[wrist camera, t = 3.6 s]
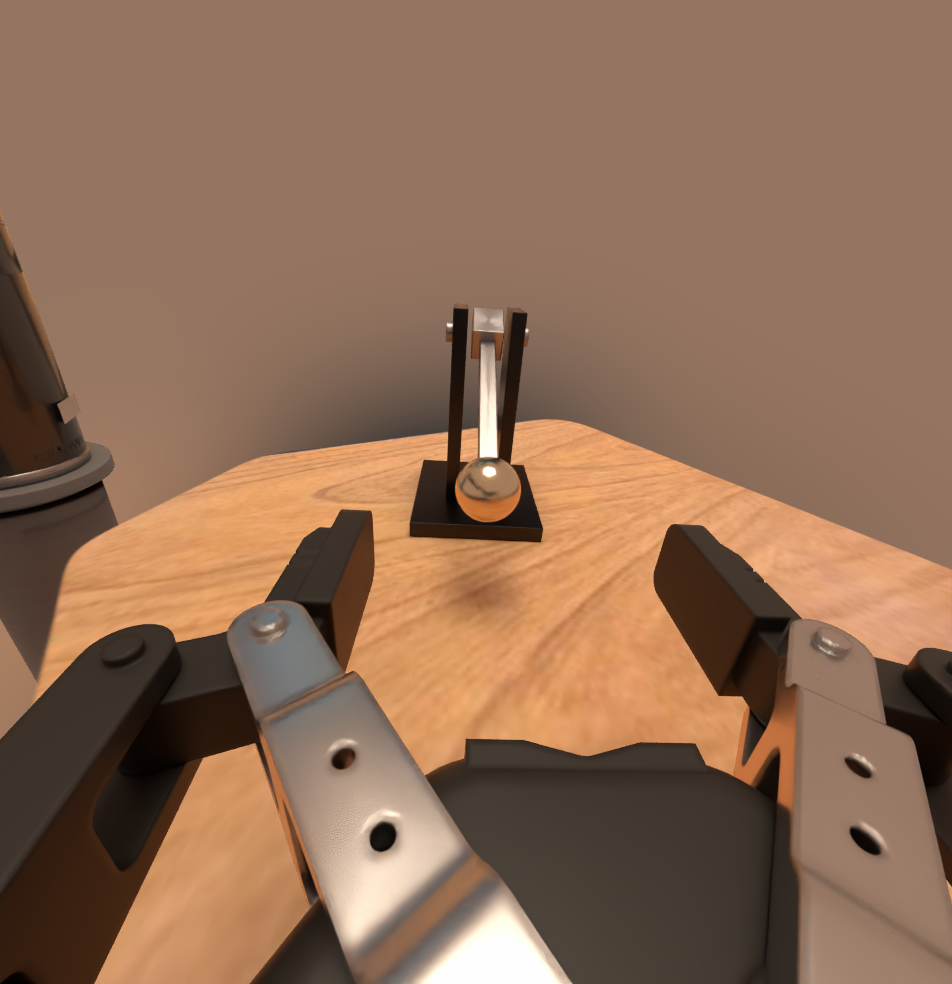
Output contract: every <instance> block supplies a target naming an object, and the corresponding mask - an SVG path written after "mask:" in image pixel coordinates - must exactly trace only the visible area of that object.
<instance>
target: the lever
mask: <svg viewBox="0 0 952 984" xmlns="http://www.w3.org/2000/svg"><path fill="white" fill-rule="evenodd" d="M471 338H472V339H471V358H472V359H479V399H478V458H477V459H474V460H472V461H471V462H469V463H468V464H467V465H465V466H464V468H463V469H462V470H461V472H460V473H459V475H458V477H457V480H456V485H455V494H456V499H457V502H458V504H459V506H460V507H461V509H462V510H463V511H464V512H465V513H466V514H467V515H468V516H469V517H471V518H473V519H475V520H477V521H481V522H495V521H499V520H501V519H503V518H505V517H507V516H508V515H509V514H510V513H511V512H512V511H513V510H514V509H515V507H516V506H517V504H518V502H519V499H520V494H521V484H520V480H519V477H518V475H517V473H516V471H515V470H514V469H513V467H512V466H511V465H509V464H508V463H507V462H506V461H504V460H502V459H499V458H498V430H497V389H496V360H500V359H501V353H502V345H503V338H504V315H503V310H496V309H481V308H474V309H473V323H472V337H471Z"/></svg>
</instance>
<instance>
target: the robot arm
mask: <svg viewBox="0 0 952 984" xmlns="http://www.w3.org/2000/svg"><path fill="white" fill-rule="evenodd" d="M3 222H5V221H4V219H3V216H2V213H1V210H0V490H4V489H11V488H17V487H22V486H26V485H31V484H35V483H39V482H43V481H46V480H50V479H53V478H56V477H59V476H62V475H65V474H67V473H70V472H72V471H74V470H76V469H78V468H80V467H82V466H83V465H85V464H86V463H87V462H88V461H89V460H90V459H91V457H92V454H91V452H90V449H89V446H88V443H87V442H85V440H84V437H83V435H82V432H81V429H80V426H79V423H78V420H77V418H76V415H78V414H79V413H80V412H81V410H80V407H79V404H78V401H77V399H76V396H75V394H72V395H71V396H69V395H68V392H67V389H66V387H65V384H64V381H63V379H62V376H61V373H60V370H59V368H58V365H57V362H56V359H55V357H54V354H53V351H52V349H51V346H50V343H49V340H48V338H47V335H46V332H45V329H44V327H43V324H42V321H41V318H40V316H39V313H38V310H37V308H36V305H35V302H34V299H33V297H32V294H31V292H30V288H29V286H28V283H27V280H26V278H25V275H24V273H23V270H22V267H21V264H20V262H19V259H18V256H17V253H16V251H15V248H14V245H13V243H12V240H11V237H10V235H9V232H8V229H7V226H6V225H5V224H1V223H3ZM374 565H375V559H374V538H373V519H372V513H371V511H364V510H343V509H342V510H341V511H340V512H339V514H338V516H337V518H336V520H335V522H334V524H333V525H332V527H331V528H323V527H319V528H317V529H316V530H315V531H313V532H312V533H310V534H309V535H308V536H306V537H305V538H304V539H303V540H302V542H301V544H300V545H299V547H298V549H297V550H296V554H294V555H293V557H292V558H291V560H290V562H289V565H287V566H286V568H285V570H284V571H283V573H282V574H281V576H280V578H279V579H278V581H277V583H276V584H275V586H274V587H273V589H272V591H271V592H270V594H269V596H268V597H267V599H266V600H265V602H264V603H262V604H259V605H256V606H254V607H252V608H250V609H248V610H246V611H245V612H243V613H242V614H240V615H239V616H238V617H237V618H236V619H235V620H234V621H233V622H232V624H231V625H230V627H229V629H228V631H226V632H223V633H220V634H216V635H212V636H207V637H202V638H197V639H192V640H187V641H182V642H177V643H176V641H175V638H174V635H173V633H172V632H171V630H169V629H168V628H167V627H164V626H161V625H156V624H144V625H137V626H132V627H128V628H124V629H121V630H119V631H116V632H114V633H111V634H109V635H107V636H105V637H103V638H101V639H100V640H98V641H96V642H95V643H93V644H92V645H91V646H89V647H88V648H87V649H85V650H84V651H83V652H82V653H81V654H80V655H79V656H78V657H77V658H76V659H75V660H74V662H73V663H72V664H71V665H70V666H69V667H68V668H67V669H66V670H65V671H64V672H63V673H62V674H61V675H60V676H59V678H58V679H57V680H56V681H55V682H54V683H53V684H52V685H51V686H50V687H49V688H48V689H47V690H46V691H45V692H44V694H43V695H42V696H41V697H40V698H39V699H38V700H37V701H36V702H35V703H34V704H33V705H32V706H31V707H30V709H29V710H28V711H27V712H26V713H25V714H24V715H23V716H22V717H21V718H20V719H19V720H18V721H17V722H16V723H15V724H14V726H13V727H12V728H11V729H10V730H9V731H8V732H7V733H6V734H5V735H4V736H3V737H2V738H1V739H0V984H94V983H95V981H96V979H97V977H98V975H99V973H100V971H101V968H102V966H103V964H104V962H105V960H106V958H107V956H108V954H109V952H110V950H111V948H112V946H113V944H114V941H115V939H116V937H117V935H118V933H119V931H120V929H121V927H122V925H123V923H124V921H125V919H126V917H127V914H128V912H129V910H130V908H131V906H132V904H133V902H134V900H135V898H136V896H137V894H138V892H139V890H140V888H141V885H142V883H143V881H144V879H145V877H146V875H147V873H148V871H149V869H150V867H151V865H152V863H153V861H154V858H155V856H156V854H157V852H158V850H159V848H160V846H161V844H162V842H163V840H164V838H165V836H166V834H167V832H168V829H169V827H170V825H171V823H172V821H173V819H174V817H175V815H176V813H177V811H178V809H179V807H180V805H181V802H182V800H183V798H184V796H185V794H186V792H187V790H188V788H189V786H190V784H191V782H192V780H193V778H194V776H195V773H196V771H197V769H198V767H199V765H200V763H201V761H202V759H203V758H204V757H208V756H211V755H215V754H218V753H222V752H225V751H229V750H232V749H236V748H239V747H243V746H246V745H250V744H253V743H255V746H256V749H257V752H258V755H259V758H260V761H261V764H262V767H263V770H264V773H265V776H266V778H267V781H268V784H269V787H270V790H271V793H272V796H273V799H274V802H275V805H276V808H277V811H278V814H279V817H280V820H281V823H282V826H283V829H284V832H285V835H286V839H287V842H288V845H289V849H290V852H291V855H292V859H293V862H294V865H295V868H296V871H297V874H298V877H299V880H300V883H301V886H302V889H303V892H304V895H305V898H306V901H307V904H308V907H309V911H308V912H307V913H306V914H305V916H304V917H303V918H302V919H301V921H300V922H299V923H298V924H297V926H296V927H295V928H294V929H293V931H292V932H291V933H290V934H289V936H288V937H287V938H286V939H285V941H284V942H283V943H282V944H281V946H280V947H279V948H278V949H277V951H276V952H275V953H274V954H273V956H272V957H271V958H270V959H269V961H268V962H267V963H266V964H265V965H264V967H263V968H262V969H261V970H260V972H259V973H258V974H257V975H256V977H255V978H254V979H253V980H252V982H251V983H250V984H952V903H951V899H950V895H949V890H948V886H947V882H946V880H947V881H948V882H949V884H950V885H951V886H952V652H949V651H946V650H942V649H936V648H924V649H921V650H919V651H918V652H917V654H916V655H915V656H914V658H913V659H912V660H911V662H910V663H909V665H908V666H907V665H903V664H899V663H895V662H891V661H887V660H883V659H880V658H876V657H873V655H872V653H871V652H870V651H869V650H868V648H867V647H866V646H865V645H864V644H862V643H861V642H860V641H859V640H857V639H856V638H855V637H853V636H852V635H850V634H848V633H847V632H845V631H843V630H841V629H839V628H837V627H835V626H832V625H830V624H827V623H824V622H821V621H817V620H812V619H802V618H801V617H800V616H799V615H798V614H797V613H796V612H795V611H794V610H793V609H792V608H791V607H790V606H789V605H788V604H787V603H786V602H785V601H784V600H783V599H782V598H781V597H780V596H779V595H778V594H777V593H776V592H775V591H774V590H773V589H772V588H771V587H770V586H769V585H768V584H767V583H764V580H763V579H762V578H761V577H760V575H759V574H758V573H757V572H753V568H752V567H751V566H750V565H749V564H748V563H747V562H746V561H745V560H744V559H743V558H742V557H741V556H739V555H738V554H736V553H735V552H733V551H731V550H730V549H728V548H727V547H725V546H723V545H722V544H720V543H719V542H718V541H717V540H716V539H715V537H714V536H713V535H712V534H711V533H710V532H709V531H708V530H707V529H706V528H705V527H703V526H701V525H681V524H673V525H671V526H670V527H669V528H668V530H667V532H666V535H665V539H664V542H663V545H662V548H661V551H660V555H659V558H658V561H657V564H656V567H655V571H654V587H655V590H656V593H657V595H658V596H659V598H660V600H661V601H662V603H663V605H664V606H665V608H666V610H667V611H668V613H669V615H670V616H671V618H672V620H673V621H674V623H675V625H676V626H677V628H678V629H679V631H680V633H681V634H682V636H683V638H684V639H685V641H686V643H687V644H688V646H689V648H690V649H691V651H692V653H693V654H694V656H695V658H696V659H697V661H698V663H699V664H700V666H701V667H702V669H703V671H704V672H705V674H706V676H707V677H708V679H709V681H710V682H711V684H712V686H713V687H714V689H715V691H716V692H717V694H718V696H742V697H743V698H744V700H745V701H746V703H747V704H748V707H747V708H746V710H745V712H744V715H743V721H742V727H741V733H740V739H739V745H738V751H737V757H736V763H735V768H734V774H733V776H732V775H730V774H728V773H726V772H723V771H721V770H718V769H716V768H713V767H710V766H707V765H706V764H705V762H704V760H703V758H702V756H701V754H700V752H699V750H698V748H697V746H696V744H692V743H642V742H640V743H636V744H633V745H629V746H625V747H622V748H618V749H614V750H611V751H607V752H604V753H600V754H596V755H593V756H580V755H576V754H573V753H569V752H565V751H562V750H558V749H554V748H551V747H547V746H543V745H540V744H536V743H532V742H529V741H525V740H493V739H466V745H465V756H464V759H461V760H458V761H454V762H451V763H449V764H446V765H444V766H442V767H439V768H437V769H436V770H434V771H432V772H430V773H429V774H427V775H425V776H424V774H423V773H422V771H421V770H420V768H419V766H418V765H417V763H416V762H415V760H414V759H413V757H412V756H411V754H410V752H409V751H408V749H407V748H406V746H405V745H404V743H403V742H402V740H401V738H400V737H399V735H398V734H397V732H396V731H395V729H394V727H393V726H392V724H391V723H390V721H389V720H388V718H387V717H386V715H385V713H384V712H383V710H382V709H381V707H380V706H379V704H378V703H377V701H376V699H375V698H374V696H373V695H372V693H371V692H370V690H369V689H368V687H367V685H366V684H365V682H364V681H363V679H362V678H361V677H360V676H359V674H358V673H356V672H355V671H352V672H350V673H348V674H346V673H345V671H346V668H347V665H348V661H349V658H350V655H351V651H352V648H353V645H354V641H355V638H356V635H357V632H358V628H359V625H360V622H361V618H362V615H363V612H364V609H365V605H366V602H367V599H368V595H369V592H370V589H371V585H372V582H373V576H374Z"/></svg>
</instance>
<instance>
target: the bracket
mask: <svg viewBox="0 0 952 984" xmlns="http://www.w3.org/2000/svg"><path fill="white" fill-rule="evenodd" d="M526 322H527V313H526V312H524V311H523V310H521V309H520V308H509V307H508V308H507V315H506V326H505V338H504V348H503V358H502V370H501V379H500V391H499V401H498V411H497V430H498V458H499V459H502V460H504V461H506V462H507V463H508V464H509V465H510V462H511V453H512V445H513V436H514V427H515V418H516V410H517V401H518V392H519V383H520V375H521V366H522V356H523V348H524V347H527V344H528V339H529V328H528V327H526ZM467 325H468V305H467V304H455V306H454V310H453V322H449V321H447V323H446V342H452V359H451V383H450V406H449V430H448V455H447V461H435V460H424V461H423V465H422V470H421V475H420V479H419V484H418V488H417V493H416V497H415V502H414V506H413V511H412V515H411V520H410V536H426V537H448V538H471V539H493V540H515V541H538V542H541V538H542V532H543V527H542V524H541V520H540V517H539V514H538V511H537V507H536V504H535V501H534V498H533V494H532V491H531V488H530V485H529V481H528V478H527V475H526V472H525V468H524V465H511V466H512V467H513V469H514V470H515V471H516V473H517V475H518V477H519V480H520V484H521V494H520V499H519V502H518V504H517V506H516V507H515V509H514V510H513V511H512V512H511V513H510V514H509V515H508V516H507V517H505V518H503V519H501V520H499V521H495V522H481V521H477V520H475V519H473V518H471V517H469V516H468V515H467V514H466V513H465V512H464V511H463V510H462V509H461V507H460V506H459V504H458V502H457V499H456V494H455V485H456V480H457V477H458V475H459V473H460V472H461V470H462V469H463V468H464V466H465V465H467V464H468V463H469V462H460V451H461V433H462V414H463V397H464V379H465V361H466V343H467Z"/></svg>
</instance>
